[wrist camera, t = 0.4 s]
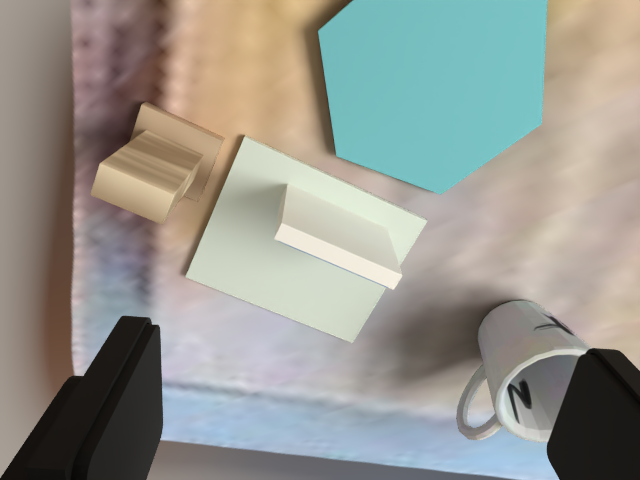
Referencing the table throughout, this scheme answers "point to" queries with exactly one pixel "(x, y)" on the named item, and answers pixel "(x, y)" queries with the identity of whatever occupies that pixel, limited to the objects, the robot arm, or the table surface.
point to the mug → (522, 371)
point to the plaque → (433, 83)
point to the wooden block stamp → (158, 165)
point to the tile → (337, 237)
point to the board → (282, 260)
